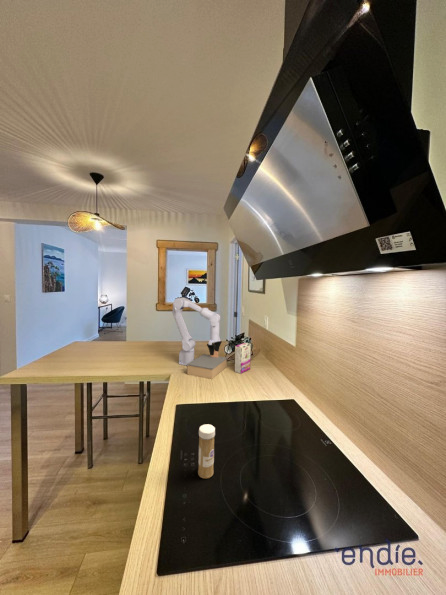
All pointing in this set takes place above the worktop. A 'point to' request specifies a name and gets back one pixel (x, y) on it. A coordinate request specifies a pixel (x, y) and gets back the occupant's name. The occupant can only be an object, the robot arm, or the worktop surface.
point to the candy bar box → (242, 357)
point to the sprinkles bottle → (206, 450)
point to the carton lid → (208, 361)
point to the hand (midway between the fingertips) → (214, 353)
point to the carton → (206, 370)
